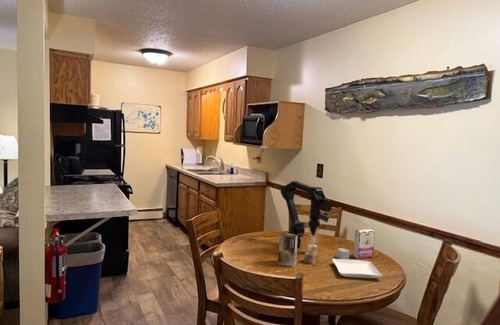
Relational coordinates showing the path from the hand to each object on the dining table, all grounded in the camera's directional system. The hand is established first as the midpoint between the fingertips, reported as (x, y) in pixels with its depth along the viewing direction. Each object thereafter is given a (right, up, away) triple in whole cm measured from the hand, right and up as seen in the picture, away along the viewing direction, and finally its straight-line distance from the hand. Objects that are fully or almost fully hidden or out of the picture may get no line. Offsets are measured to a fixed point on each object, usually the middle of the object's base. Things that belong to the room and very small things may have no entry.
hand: (313, 234), depth 208 cm
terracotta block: (0, -1, 0) cm, 1 cm away
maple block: (-1, -12, +1) cm, 12 cm away
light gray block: (+17, -13, -3) cm, 22 cm away
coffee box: (-18, -13, -18) cm, 28 cm away
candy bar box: (+30, -14, 0) cm, 33 cm away
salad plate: (+18, -16, -24) cm, 34 cm away
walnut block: (-5, -13, -14) cm, 19 cm away
